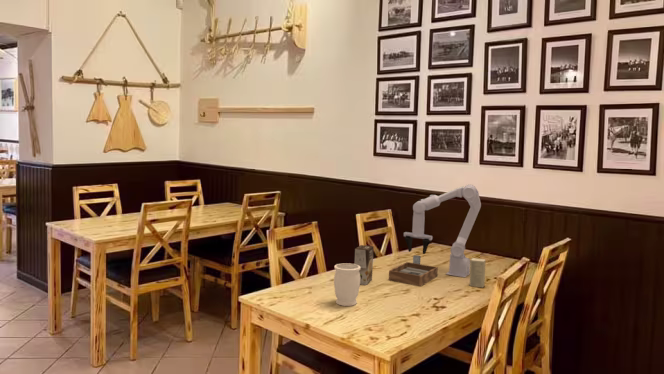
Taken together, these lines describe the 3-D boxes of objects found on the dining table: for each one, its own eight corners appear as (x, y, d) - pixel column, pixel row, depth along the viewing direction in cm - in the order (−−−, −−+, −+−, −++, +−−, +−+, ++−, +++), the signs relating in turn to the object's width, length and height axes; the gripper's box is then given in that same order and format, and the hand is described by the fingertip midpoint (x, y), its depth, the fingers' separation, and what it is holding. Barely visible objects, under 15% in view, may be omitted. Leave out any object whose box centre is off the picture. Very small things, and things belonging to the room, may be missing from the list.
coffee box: (367, 285, 238) (368, 250, 236) (353, 283, 240) (354, 248, 238) (372, 280, 246) (373, 246, 245) (359, 278, 248) (360, 244, 247)
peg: (421, 269, 267) (421, 256, 266) (418, 271, 264) (418, 257, 263) (414, 268, 269) (415, 254, 268) (411, 270, 266) (412, 256, 265)
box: (406, 270, 264) (407, 262, 264) (437, 276, 256) (437, 267, 255) (388, 280, 247) (389, 270, 247) (420, 286, 239) (421, 276, 238)
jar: (350, 309, 206) (352, 271, 204) (328, 303, 211) (329, 266, 210) (364, 302, 215) (365, 265, 213) (342, 297, 220) (343, 261, 219)
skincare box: (484, 285, 243) (486, 259, 242) (482, 288, 239) (484, 261, 238) (470, 283, 246) (472, 257, 245) (468, 285, 242) (470, 259, 241)
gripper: (401, 224, 265) (400, 251, 266) (429, 228, 257) (427, 256, 259) (407, 222, 271) (406, 249, 272) (434, 226, 263) (433, 253, 265)
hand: (417, 252), depth 266 cm, fingers open, 7 cm apart
